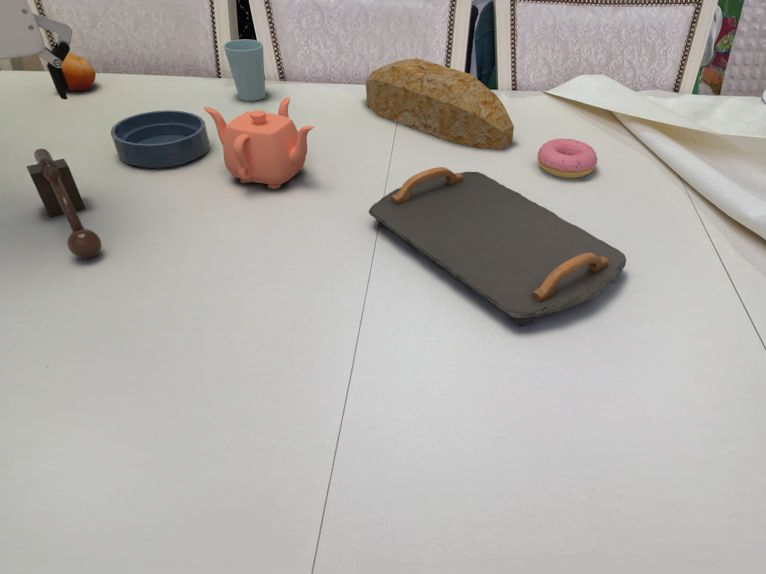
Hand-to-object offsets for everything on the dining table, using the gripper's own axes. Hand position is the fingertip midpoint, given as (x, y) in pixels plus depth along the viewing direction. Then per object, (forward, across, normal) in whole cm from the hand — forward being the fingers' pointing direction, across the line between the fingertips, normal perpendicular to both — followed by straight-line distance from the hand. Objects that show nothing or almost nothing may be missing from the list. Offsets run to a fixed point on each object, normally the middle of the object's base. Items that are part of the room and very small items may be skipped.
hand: (23, 102), depth 82 cm
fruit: (+17, -12, -55) cm, 59 cm away
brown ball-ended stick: (+17, 0, +5) cm, 18 cm away
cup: (+17, -42, -34) cm, 56 cm away
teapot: (+17, -31, +2) cm, 36 cm away
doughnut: (+18, -77, +27) cm, 84 cm away
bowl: (+17, -18, -16) cm, 29 cm away
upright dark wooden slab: (+17, 0, -3) cm, 17 cm away
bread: (+18, -68, -3) cm, 71 cm away
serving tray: (+18, -49, +41) cm, 66 cm away
